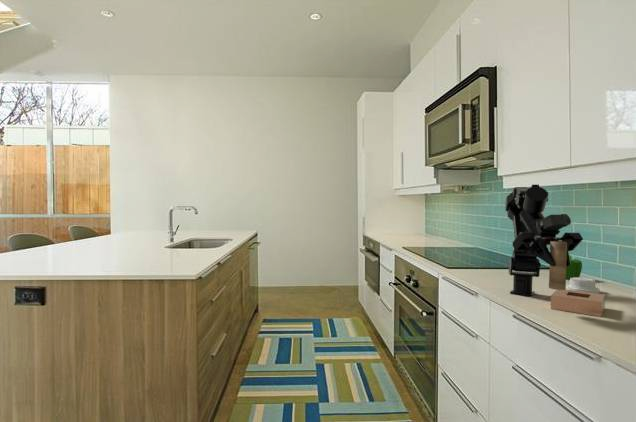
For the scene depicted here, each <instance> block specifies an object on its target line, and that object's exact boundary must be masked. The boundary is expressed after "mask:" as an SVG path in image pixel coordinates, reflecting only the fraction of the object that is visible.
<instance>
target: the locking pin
mask: <svg viewBox="0 0 636 422" xmlns="http://www.w3.org/2000/svg"><path fill="white" fill-rule="evenodd" d="M549 252H550V253H551V255H552V257H553V259H554V261H555V263H556V265H555V266H551V265H550V264H549V267H548V268H549V271H548V272H549V273H548V276H549V277H548V289H551V290H555V291H556V290H565V289H566V285H567V284H566V282H567V279H566V260H567V242H562V241H550V245H549ZM566 290H567V289H566Z"/></svg>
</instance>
